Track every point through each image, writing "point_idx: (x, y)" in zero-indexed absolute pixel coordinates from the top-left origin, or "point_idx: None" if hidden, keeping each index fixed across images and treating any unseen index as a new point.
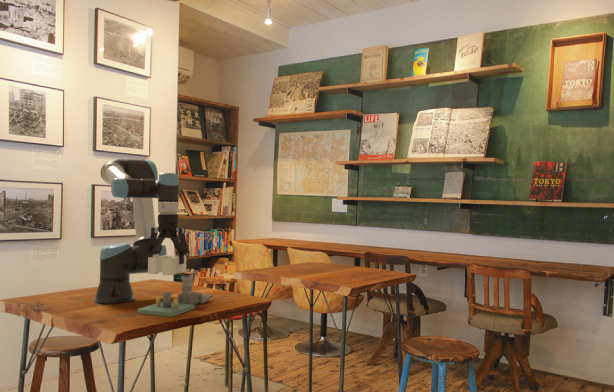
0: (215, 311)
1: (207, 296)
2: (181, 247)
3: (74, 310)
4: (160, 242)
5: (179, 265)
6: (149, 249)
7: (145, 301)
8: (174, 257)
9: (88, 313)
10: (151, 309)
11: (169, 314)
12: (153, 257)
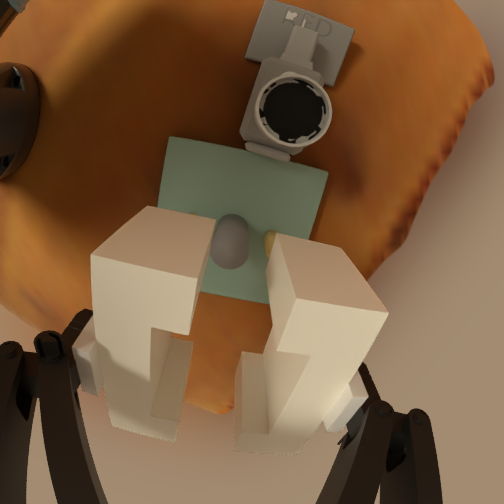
0: (401, 205)
1: (336, 35)
2: (381, 483)
3: (4, 268)
4: (101, 495)
5: None
6: (32, 407)
7: (82, 92)
8: (299, 410)
9: (45, 293)
10: None
11: None
12: (137, 423)
